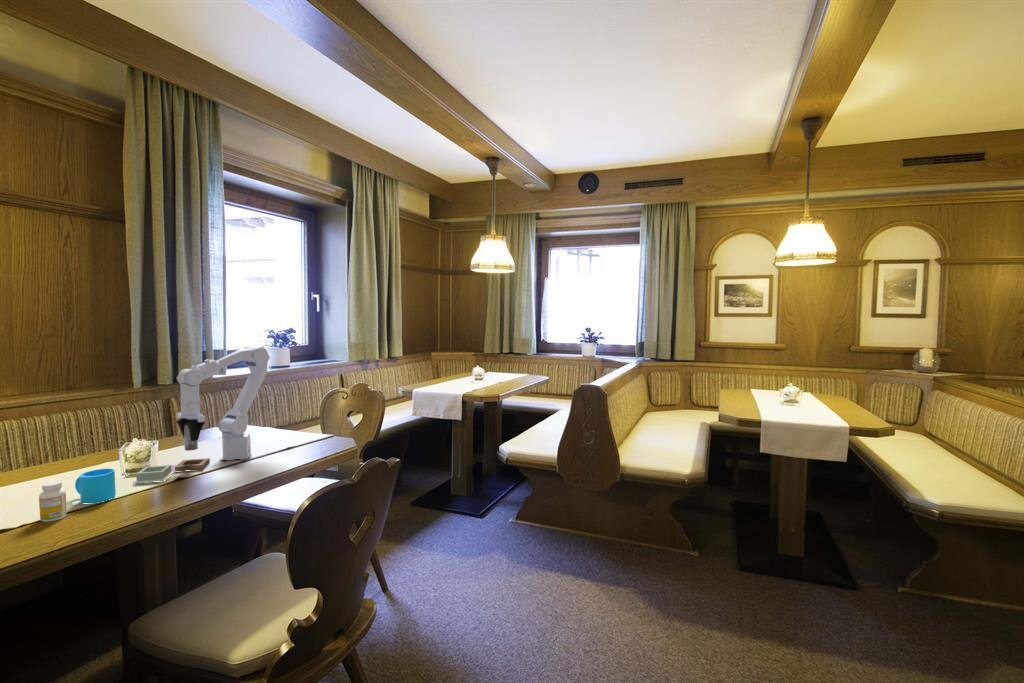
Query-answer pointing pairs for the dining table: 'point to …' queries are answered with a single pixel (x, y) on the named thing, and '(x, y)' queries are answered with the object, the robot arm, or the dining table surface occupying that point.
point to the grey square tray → (153, 474)
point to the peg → (189, 440)
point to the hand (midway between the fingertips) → (191, 439)
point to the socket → (192, 464)
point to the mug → (96, 485)
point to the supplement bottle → (52, 502)
